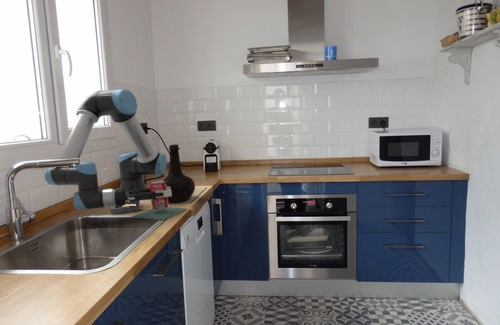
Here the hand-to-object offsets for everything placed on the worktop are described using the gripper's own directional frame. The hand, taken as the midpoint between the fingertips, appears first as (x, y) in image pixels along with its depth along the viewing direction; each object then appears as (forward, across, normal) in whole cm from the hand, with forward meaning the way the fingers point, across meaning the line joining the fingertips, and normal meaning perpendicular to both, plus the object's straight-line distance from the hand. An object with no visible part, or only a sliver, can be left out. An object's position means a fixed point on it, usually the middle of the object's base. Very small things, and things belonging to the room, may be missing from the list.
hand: (170, 191), depth 158 cm
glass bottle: (+4, -23, -10) cm, 25 cm away
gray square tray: (-20, -16, -10) cm, 28 cm away
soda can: (-5, 0, -8) cm, 9 cm away
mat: (-5, 0, -10) cm, 11 cm away
